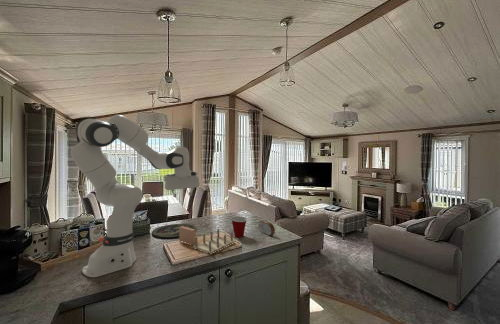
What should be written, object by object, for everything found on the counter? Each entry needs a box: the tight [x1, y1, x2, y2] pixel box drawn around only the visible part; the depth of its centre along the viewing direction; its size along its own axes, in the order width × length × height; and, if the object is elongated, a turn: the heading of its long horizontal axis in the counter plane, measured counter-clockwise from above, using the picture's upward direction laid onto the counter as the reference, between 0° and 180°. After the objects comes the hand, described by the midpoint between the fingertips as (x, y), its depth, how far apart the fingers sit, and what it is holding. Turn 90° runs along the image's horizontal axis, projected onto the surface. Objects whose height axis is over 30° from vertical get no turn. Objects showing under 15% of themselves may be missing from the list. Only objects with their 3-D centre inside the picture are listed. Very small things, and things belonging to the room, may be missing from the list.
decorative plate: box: [151, 223, 197, 240], centre depth 161 cm, size 30×2×30 cm
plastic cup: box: [230, 215, 248, 238], centre depth 150 cm, size 11×11×12 cm
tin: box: [258, 219, 276, 236], centre depth 155 cm, size 15×3×8 cm, turn 34°
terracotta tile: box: [179, 226, 197, 246], centre depth 139 cm, size 2×12×9 cm, turn 54°
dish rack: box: [192, 228, 236, 255], centre depth 134 cm, size 20×15×6 cm
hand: (182, 196), depth 139 cm, fingers open, 8 cm apart
